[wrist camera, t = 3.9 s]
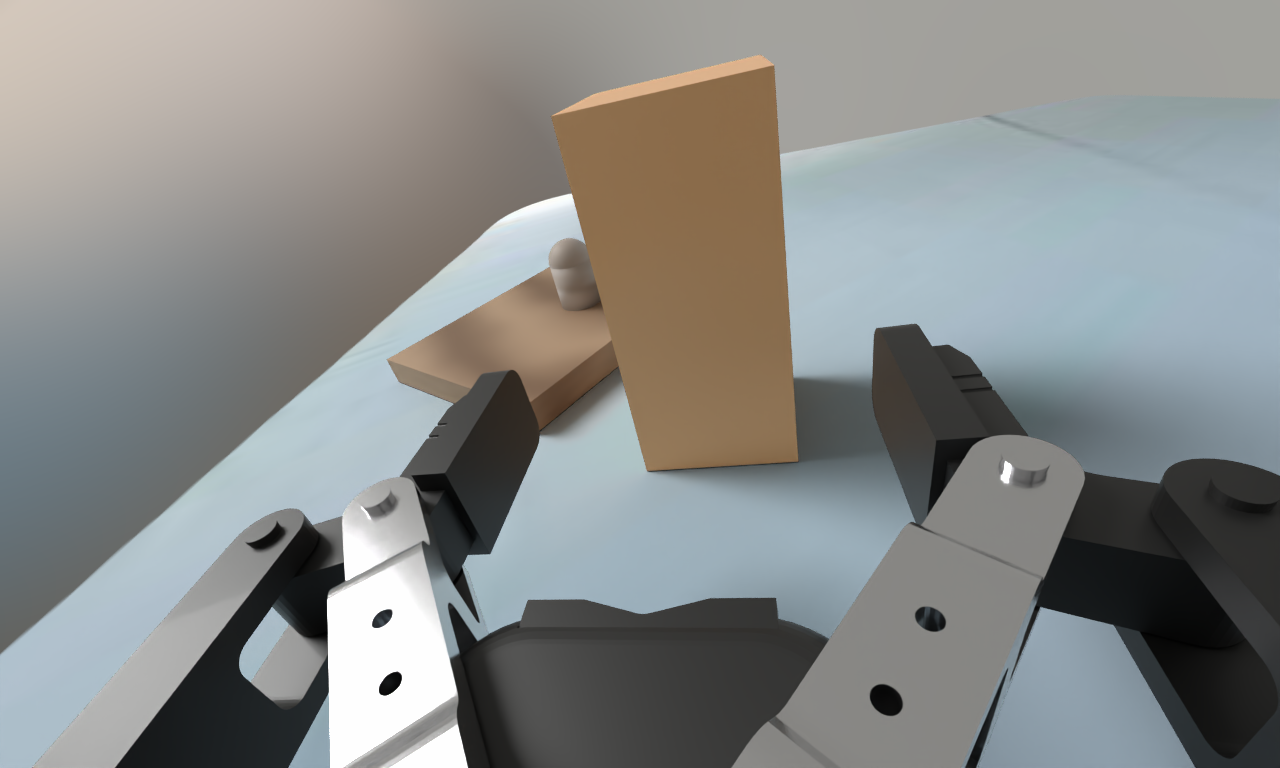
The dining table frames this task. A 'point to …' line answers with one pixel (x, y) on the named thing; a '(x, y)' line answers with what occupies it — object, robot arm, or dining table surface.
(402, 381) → the jig plate
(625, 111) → the light orange rectangular block
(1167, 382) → the dining table surface
